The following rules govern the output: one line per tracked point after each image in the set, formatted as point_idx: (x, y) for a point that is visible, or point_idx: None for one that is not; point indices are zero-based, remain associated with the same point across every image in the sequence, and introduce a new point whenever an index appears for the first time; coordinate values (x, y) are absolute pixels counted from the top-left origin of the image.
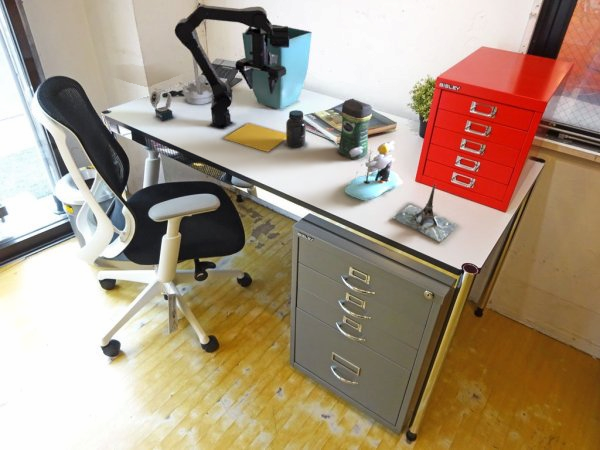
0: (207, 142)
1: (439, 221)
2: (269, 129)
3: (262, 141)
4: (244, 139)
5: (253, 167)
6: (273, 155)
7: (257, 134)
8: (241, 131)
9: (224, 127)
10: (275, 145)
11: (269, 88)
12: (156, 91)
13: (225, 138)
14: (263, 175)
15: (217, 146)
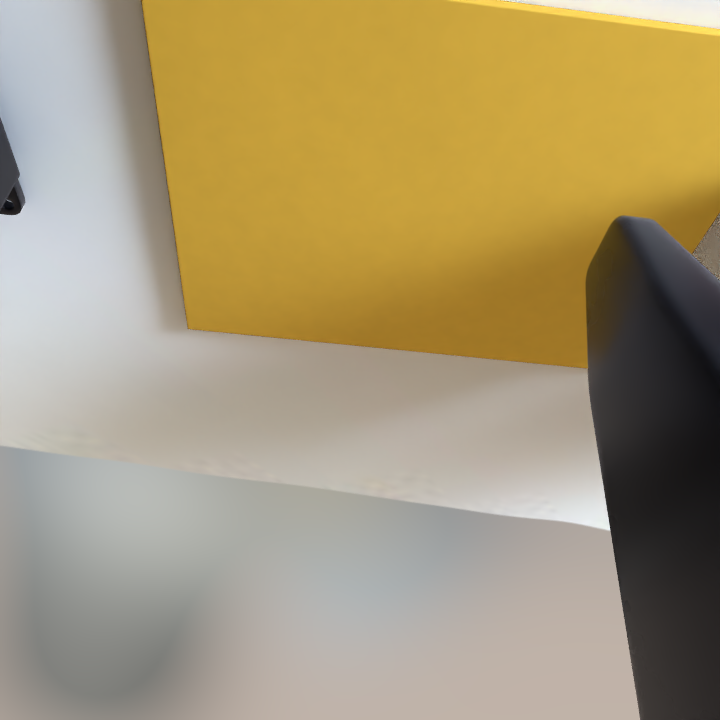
0: (133, 386)
1: None
2: (508, 21)
3: (525, 281)
4: (355, 300)
5: (568, 482)
6: None
7: (420, 189)
8: (229, 194)
9: (18, 191)
10: None
11: (609, 480)
12: None
13: (202, 329)
14: None
15: (234, 401)
